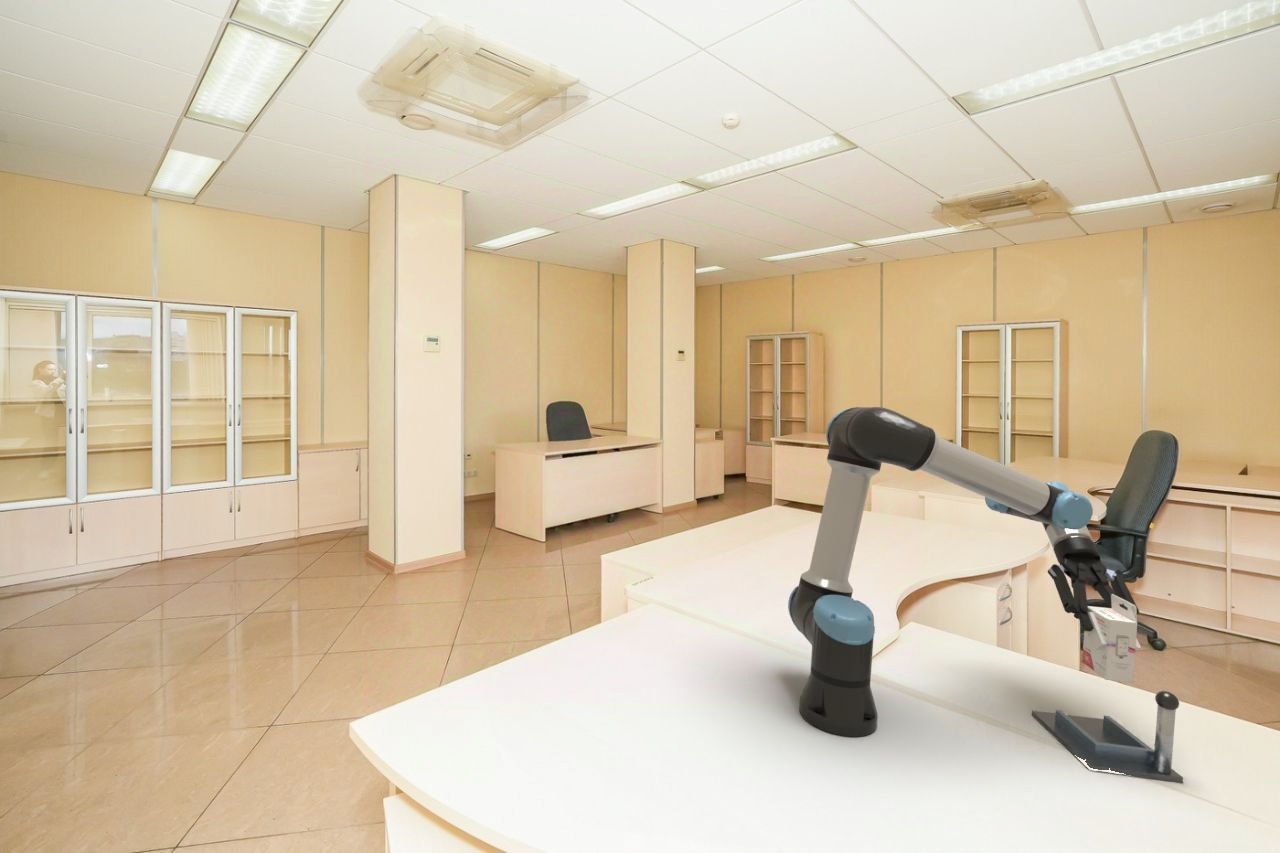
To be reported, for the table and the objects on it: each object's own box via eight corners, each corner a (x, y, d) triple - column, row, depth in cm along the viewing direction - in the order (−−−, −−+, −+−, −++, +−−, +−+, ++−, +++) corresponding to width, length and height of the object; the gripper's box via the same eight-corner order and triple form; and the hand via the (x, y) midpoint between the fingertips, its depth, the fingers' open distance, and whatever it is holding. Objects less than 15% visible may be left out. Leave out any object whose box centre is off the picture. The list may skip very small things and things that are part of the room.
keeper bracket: (1089, 770, 104) (1095, 687, 104) (1031, 715, 124) (1036, 645, 124) (1182, 783, 102) (1189, 698, 102) (1108, 724, 122) (1113, 653, 122)
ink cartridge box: (1080, 661, 118) (1084, 590, 117) (1107, 665, 117) (1112, 593, 116) (1105, 680, 109) (1110, 603, 109) (1135, 684, 108) (1140, 606, 108)
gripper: (1109, 557, 127) (1159, 662, 112) (1020, 550, 130) (1057, 651, 114) (1128, 538, 122) (1183, 645, 106) (1034, 531, 125) (1075, 634, 109)
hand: (1117, 648), depth 110 cm, fingers closed on ink cartridge box, 5 cm apart
